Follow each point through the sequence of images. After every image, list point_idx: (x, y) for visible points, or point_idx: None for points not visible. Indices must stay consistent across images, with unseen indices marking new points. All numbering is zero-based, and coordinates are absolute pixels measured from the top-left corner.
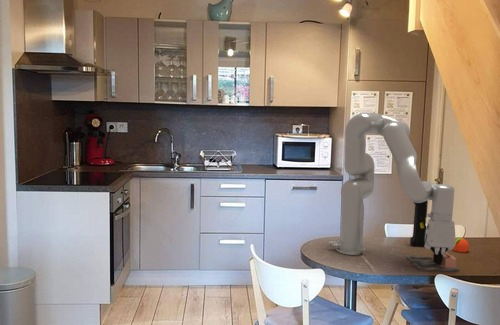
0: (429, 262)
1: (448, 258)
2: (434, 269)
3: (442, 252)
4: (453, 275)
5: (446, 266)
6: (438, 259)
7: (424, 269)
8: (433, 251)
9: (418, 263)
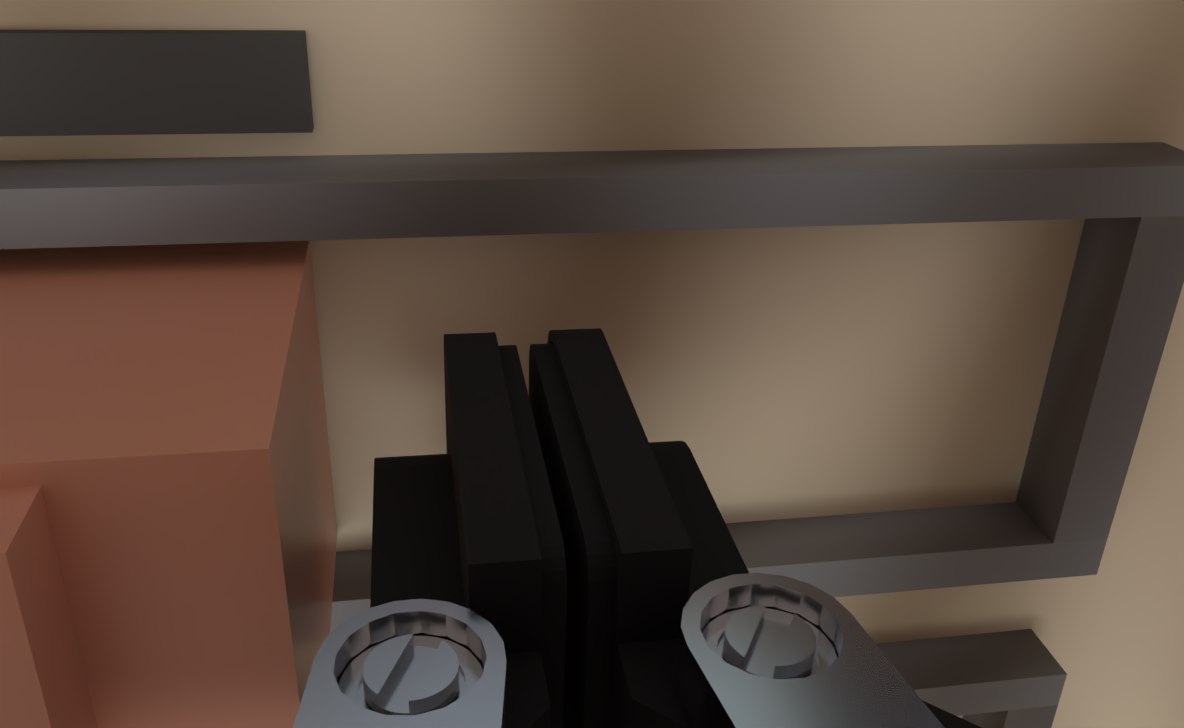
0: None
1: (117, 460)
2: (703, 157)
3: (431, 713)
4: None
5: (244, 285)
6: (602, 419)
7: (1014, 148)
8: (938, 719)
9: (983, 538)
